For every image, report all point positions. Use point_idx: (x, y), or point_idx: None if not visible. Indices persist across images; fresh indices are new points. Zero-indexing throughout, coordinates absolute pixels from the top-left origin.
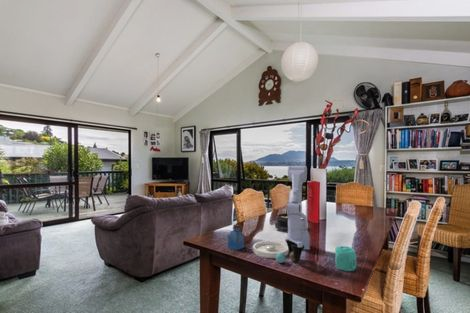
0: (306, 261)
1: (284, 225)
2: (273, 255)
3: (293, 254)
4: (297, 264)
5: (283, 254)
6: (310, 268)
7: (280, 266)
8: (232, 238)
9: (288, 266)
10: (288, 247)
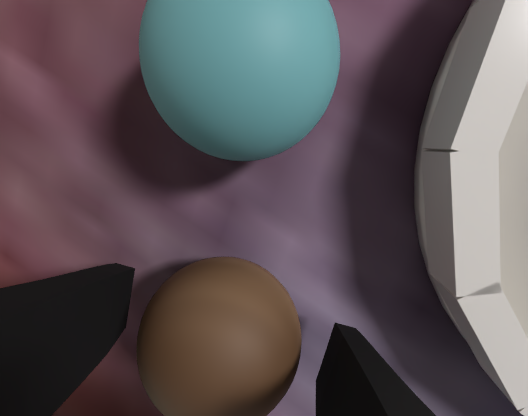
0: None
1: None
2: (470, 33)
3: (156, 320)
4: None
5: (178, 98)
6: None
7: (136, 9)
8: None
9: (109, 125)
10: (404, 412)
